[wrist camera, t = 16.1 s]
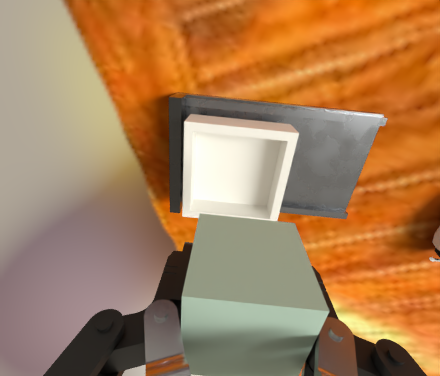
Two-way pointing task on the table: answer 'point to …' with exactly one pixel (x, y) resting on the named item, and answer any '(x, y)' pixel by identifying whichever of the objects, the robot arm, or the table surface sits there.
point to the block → (249, 299)
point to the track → (304, 152)
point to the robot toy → (436, 244)
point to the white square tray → (236, 166)
